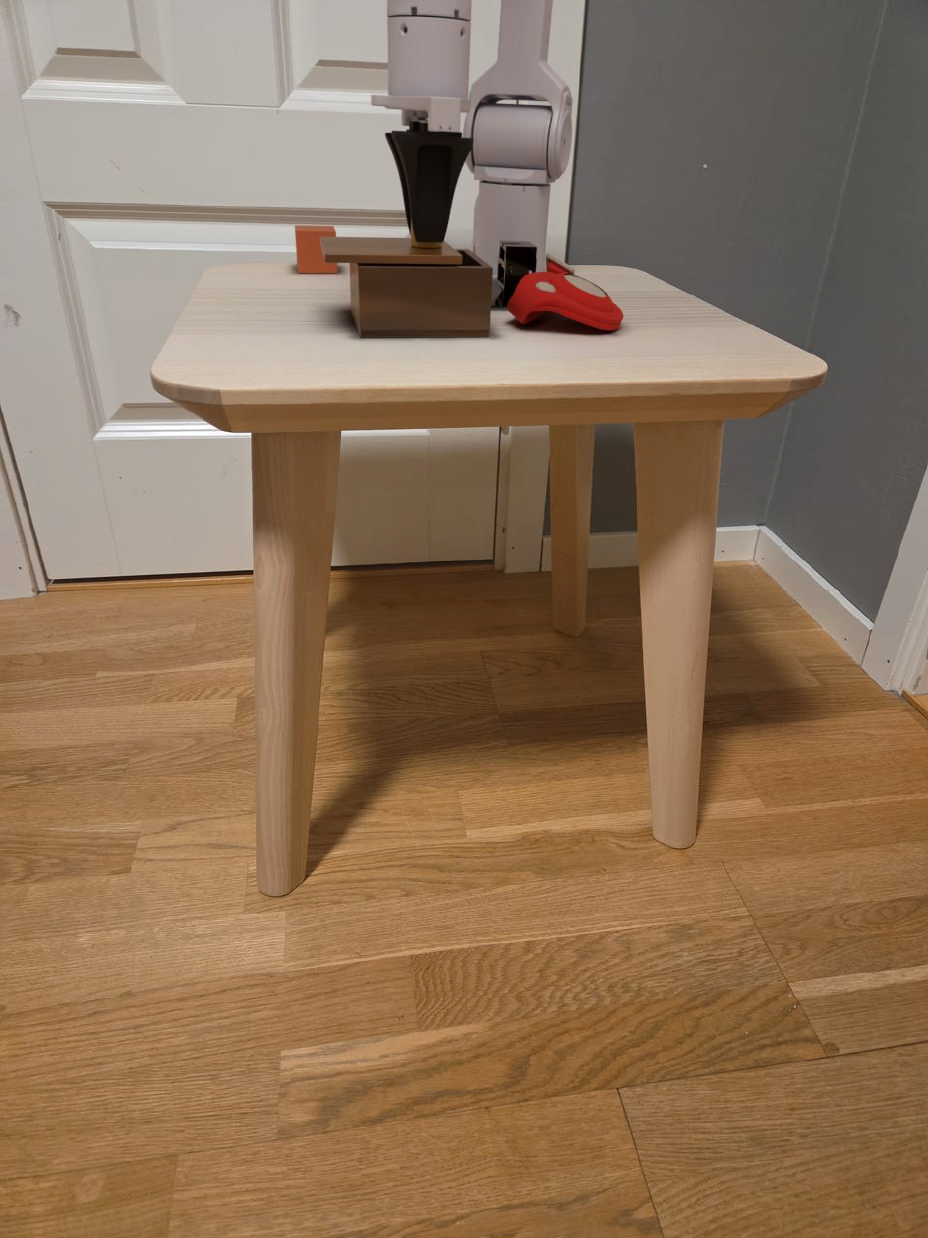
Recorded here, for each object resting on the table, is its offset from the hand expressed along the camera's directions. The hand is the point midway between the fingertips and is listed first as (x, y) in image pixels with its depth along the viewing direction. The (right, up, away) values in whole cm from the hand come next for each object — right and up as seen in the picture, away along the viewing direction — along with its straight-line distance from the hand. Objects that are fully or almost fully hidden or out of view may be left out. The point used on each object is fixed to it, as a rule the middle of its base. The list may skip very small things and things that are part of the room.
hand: (426, 238), depth 63 cm
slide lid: (-3, -1, 0) cm, 3 cm away
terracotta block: (-13, +7, +23) cm, 27 cm away
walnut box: (-1, -5, +3) cm, 6 cm away
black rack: (+8, +1, +15) cm, 17 cm away
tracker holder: (+12, -4, +7) cm, 14 cm away
